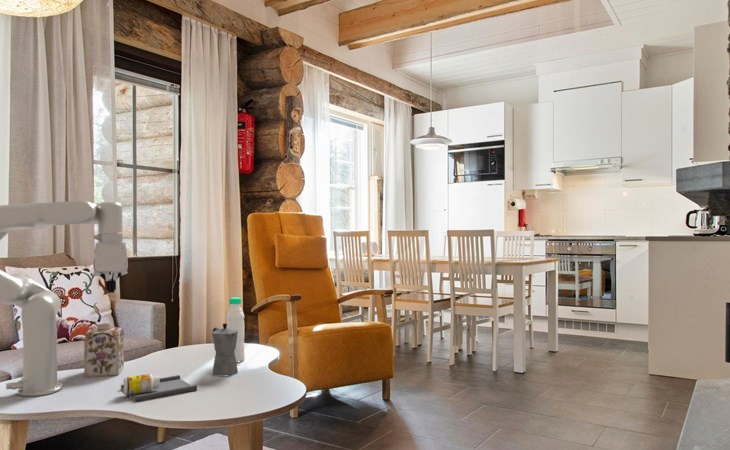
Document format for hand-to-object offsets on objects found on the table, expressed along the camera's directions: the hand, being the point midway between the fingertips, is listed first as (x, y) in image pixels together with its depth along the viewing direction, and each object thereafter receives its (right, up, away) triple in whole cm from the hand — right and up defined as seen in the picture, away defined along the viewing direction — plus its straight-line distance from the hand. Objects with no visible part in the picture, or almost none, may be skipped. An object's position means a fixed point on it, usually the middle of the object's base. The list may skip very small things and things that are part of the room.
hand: (110, 292), depth 186 cm
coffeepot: (+35, -31, +14) cm, 49 cm away
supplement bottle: (+11, -28, -15) cm, 33 cm away
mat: (+19, -31, -8) cm, 37 cm away
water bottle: (+35, -31, +32) cm, 57 cm away
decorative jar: (-9, -32, +15) cm, 36 cm away
